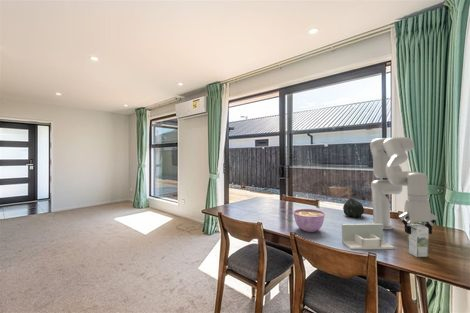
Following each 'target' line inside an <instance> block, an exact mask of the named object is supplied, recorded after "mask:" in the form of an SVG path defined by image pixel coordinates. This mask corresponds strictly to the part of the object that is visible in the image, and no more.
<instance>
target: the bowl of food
mask: <svg viewBox="0 0 470 313" xmlns="http://www.w3.org/2000/svg"><path fill="white" fill-rule="evenodd" d="M292 213H293V217H294V221H295V224H296V225H297V227H298V228H299V229H301V230H303V231H304V232H307V233H314V232H316V231H318V230H320V229H321V228H322V227H323V224H324V221H325V216H326V214H325V212H324V211H322V210H320V209H319V210H318V209H313V208H312V209H311V208H300V209H299V208H298V209H295V210H293V212H292Z"/></svg>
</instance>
